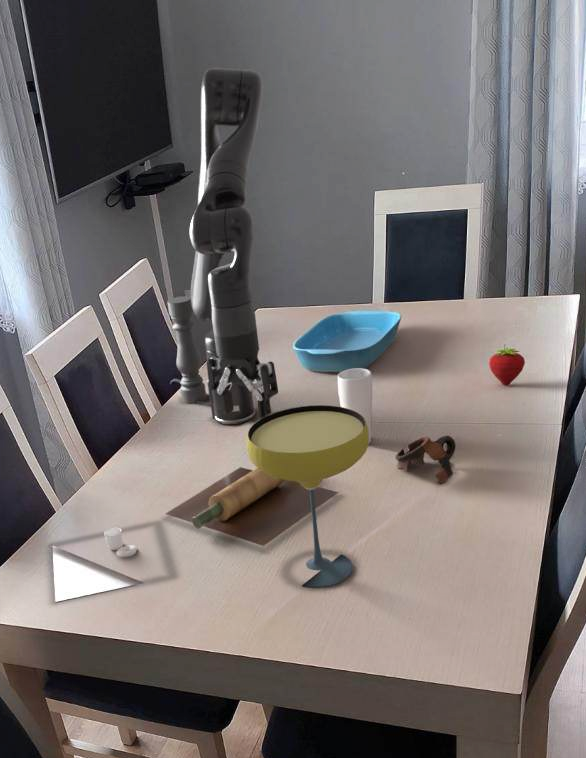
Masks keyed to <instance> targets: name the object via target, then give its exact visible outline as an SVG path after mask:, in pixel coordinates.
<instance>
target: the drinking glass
mask: <svg viewBox="0 0 586 758" xmlns="http://www.w3.org/2000/svg"><path fill="white" fill-rule="evenodd" d="M337 393H338V400H339V407H343V408H347V409H351V410H353V411H355V412H357V413H359V414H360V415H362V416H363V417H364V419H365V421H366V423H367V426H368V432H369V442H368V444H370V443H371V442H372V413H373V412H372V411H373V379H372V372H371V370H370V369H367V368H364V369H362V368H354V369H348V370H344V371H342V372H338V374H337Z"/></svg>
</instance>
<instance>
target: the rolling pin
mask: <svg viewBox="0 0 586 758" xmlns="http://www.w3.org/2000/svg"><path fill="white" fill-rule="evenodd" d="M252 470H253V471H251V472H250V473H248V474H247V475H245V476H244V477H242V478H240V479H239V480H237V481H236V482H234V483H232V484H231V485H229V486H228V487H226V488H225V489H223V490H221V491H220V492H218V493H217V494H215V495H213V496H212V497H211V498H210V499H209V508H207V509H206V510H204V511H203V512H201V513H200V514H198V515H197V516H195V517H193V518H192V522H191V524H192V525H193V526H194V527H195V528H196V529H201V528H203V527H204V525H205V524H207V523H208V522H210V521H212V520H213V519H215V518H217V519H219V520H221V521H225V520H227V519H229V518H230V517H232V516H233V515H235V514H236V513H238V512H239V511H241V510H242V509H244V508H245V507H247V506H248V505H250V504H251V503H253V502H254V501H256V500H257V499H259V498H260V497H262V496H263V495H265V494H266V493H268V492H269V491H271V490H272V489H274V488H275V487H277V486H278V485H280V484H281V483H282V482H283V481H284V480H283V479H279V478H276V477H273V476H270V475H268V474H266V473H264V472H263V471H261V470H260V469H258V468H257V467H256V468H255V469H252Z"/></svg>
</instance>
